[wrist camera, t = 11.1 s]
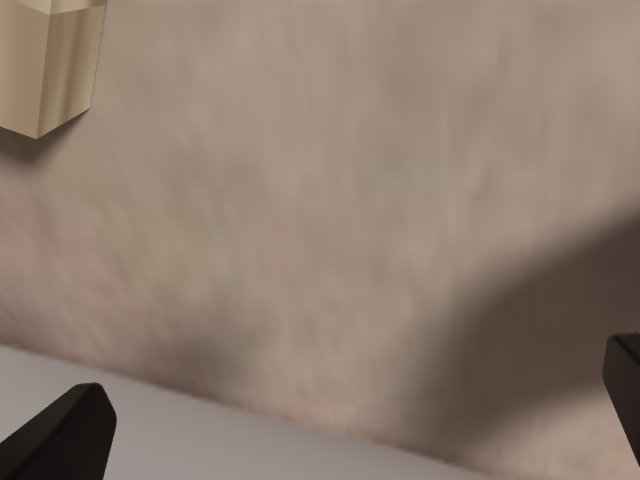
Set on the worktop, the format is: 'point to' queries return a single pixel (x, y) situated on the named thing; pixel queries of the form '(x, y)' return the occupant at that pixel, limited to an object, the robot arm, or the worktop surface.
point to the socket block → (47, 61)
